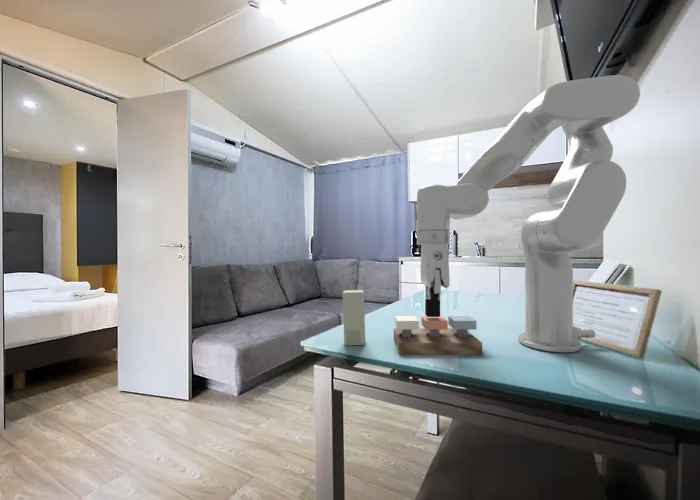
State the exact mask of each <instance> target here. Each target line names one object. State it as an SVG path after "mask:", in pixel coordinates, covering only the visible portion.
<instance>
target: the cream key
mask: <svg viewBox="0 0 700 500" xmlns="http://www.w3.org/2000/svg"><path fill="white" fill-rule="evenodd" d="M394 325H395V329H397V330H402V337H412V335H411V330H419V329H420V320H419V319H418V317H417V316H416V315H395V316H394Z"/></svg>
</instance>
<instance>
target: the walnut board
mask: <svg viewBox="0 0 700 500" xmlns="http://www.w3.org/2000/svg"><path fill="white" fill-rule="evenodd" d="M411 335H412V337H402V330H397V328H393V340H394V343H395V344H394V345H395V347H396V349H397V352H398V354H399V355H483V342H482V341H480V340H479V338H477V337H476V336H475V335H473V334H472V333H471V332H470V331H468V337H457V336H456V330H454V329H453V328H448V330H439V336H440V337H429V330H426V329H425V328H419V330H411Z"/></svg>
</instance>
